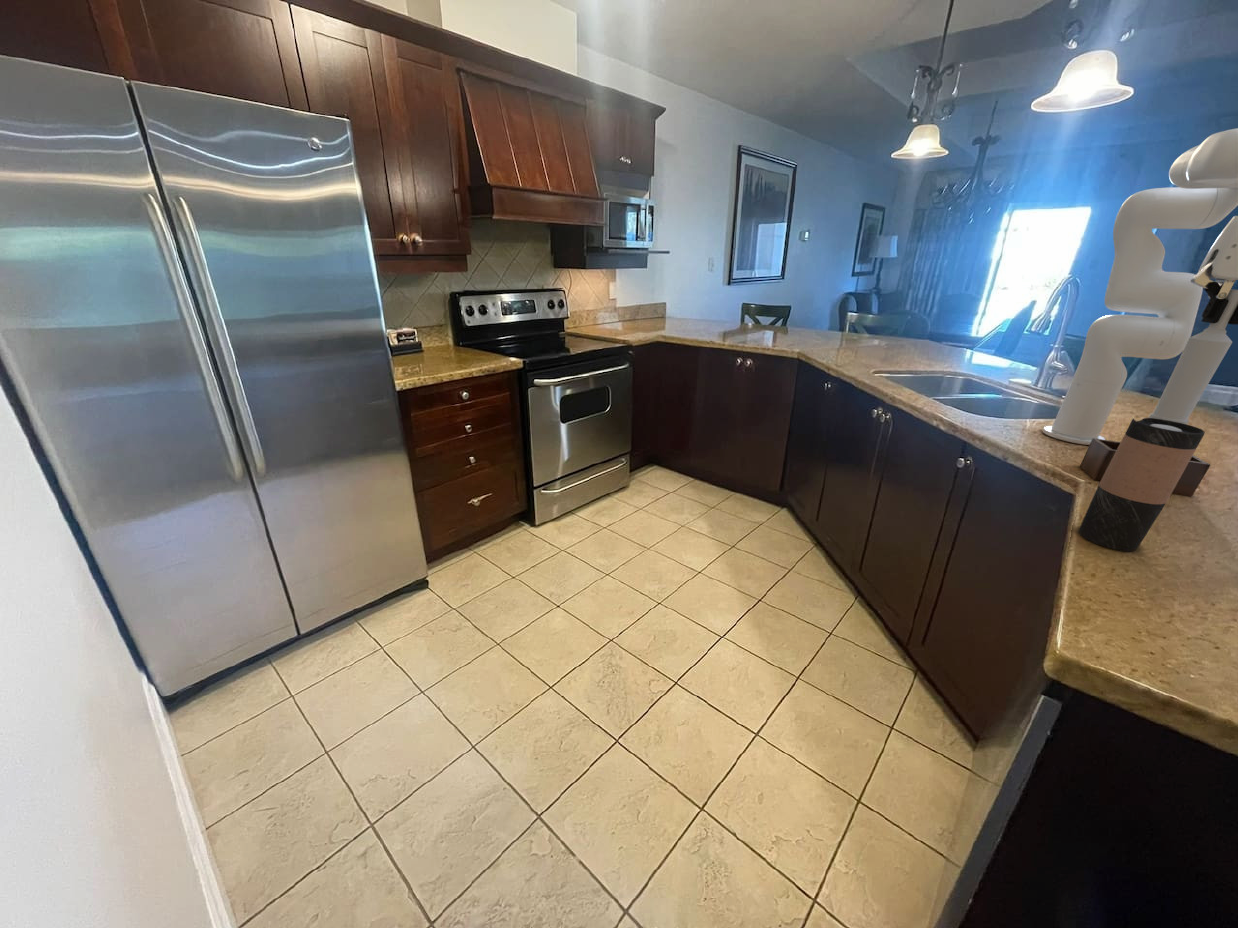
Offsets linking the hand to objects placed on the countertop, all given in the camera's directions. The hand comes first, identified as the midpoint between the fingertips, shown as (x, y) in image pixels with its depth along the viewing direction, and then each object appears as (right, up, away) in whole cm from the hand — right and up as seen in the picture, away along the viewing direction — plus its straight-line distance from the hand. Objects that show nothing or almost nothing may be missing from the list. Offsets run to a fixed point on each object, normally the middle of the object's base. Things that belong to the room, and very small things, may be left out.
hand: (1219, 322), depth 84 cm
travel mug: (-26, -38, -6) cm, 47 cm away
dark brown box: (+3, -29, +17) cm, 34 cm away
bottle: (-1, -18, +8) cm, 20 cm away
